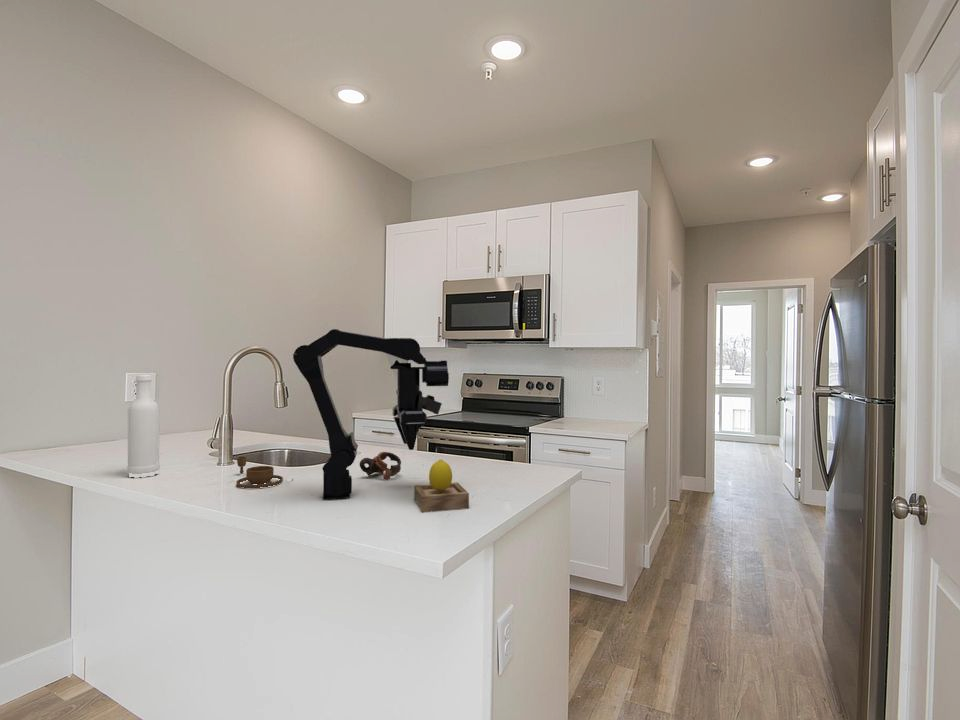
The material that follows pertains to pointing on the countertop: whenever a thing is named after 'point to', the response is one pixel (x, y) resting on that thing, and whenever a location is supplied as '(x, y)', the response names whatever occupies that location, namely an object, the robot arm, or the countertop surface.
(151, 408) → the bottle
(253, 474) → the place setting
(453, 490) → the walnut base
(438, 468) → the lemon
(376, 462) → the brown twisted loop
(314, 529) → the countertop surface
